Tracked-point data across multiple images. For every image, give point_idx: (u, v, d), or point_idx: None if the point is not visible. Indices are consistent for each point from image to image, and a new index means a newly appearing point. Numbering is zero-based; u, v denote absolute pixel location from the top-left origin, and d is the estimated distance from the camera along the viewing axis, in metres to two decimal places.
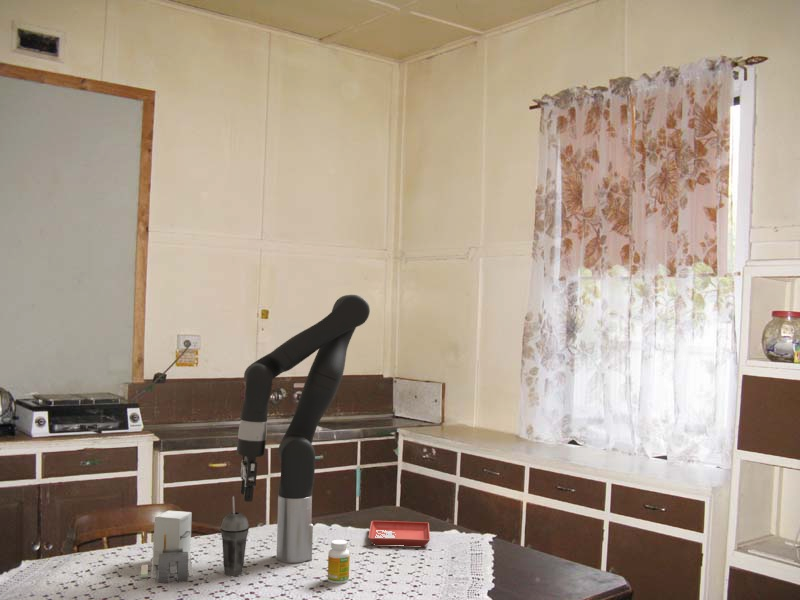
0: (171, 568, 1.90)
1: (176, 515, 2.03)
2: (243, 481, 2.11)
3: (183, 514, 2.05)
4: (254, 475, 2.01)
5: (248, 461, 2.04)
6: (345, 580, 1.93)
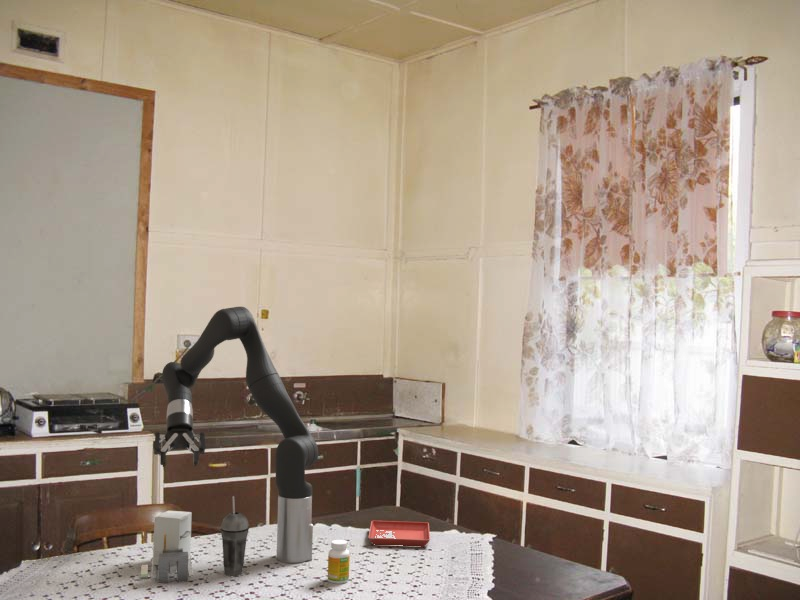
0: (171, 568, 1.90)
1: (176, 515, 2.03)
2: (193, 455, 2.22)
3: (183, 514, 2.05)
4: None
5: None
6: (345, 580, 1.93)
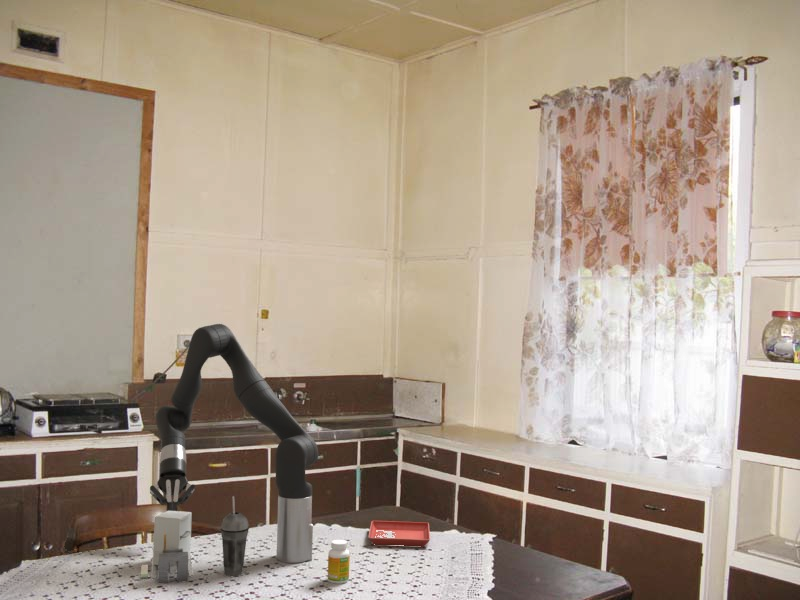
0: (171, 568, 1.90)
1: (176, 515, 2.03)
2: None
3: (183, 514, 2.05)
4: (155, 495, 2.17)
5: None
6: (345, 580, 1.93)
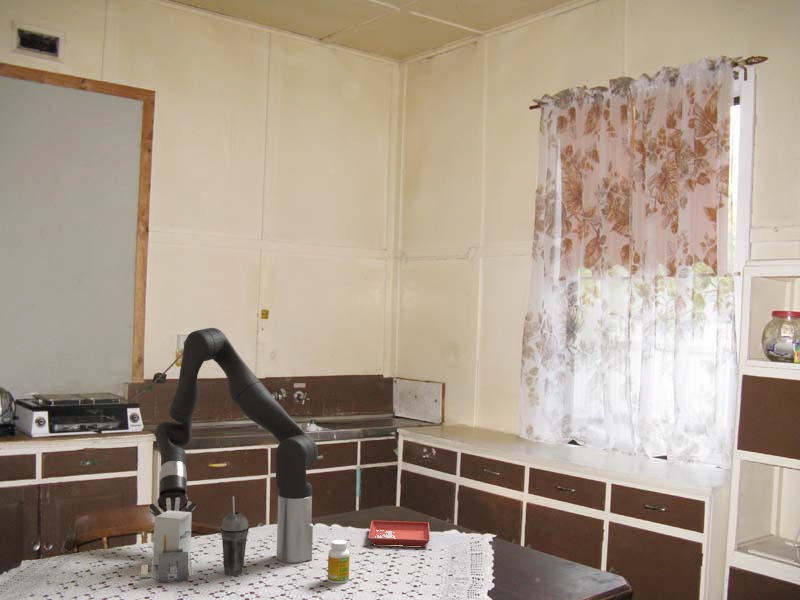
0: (171, 568, 1.90)
1: (176, 515, 2.03)
2: None
3: (183, 514, 2.05)
4: (155, 514, 2.12)
5: None
6: (345, 580, 1.93)
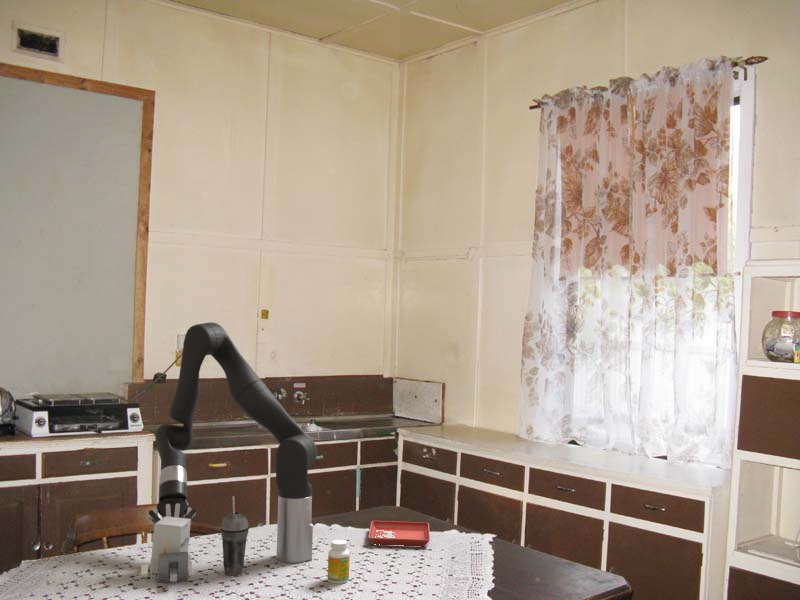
0: (171, 576, 1.84)
1: (176, 522, 1.97)
2: None
3: (183, 521, 1.99)
4: (154, 520, 2.05)
5: None
6: (345, 580, 1.93)
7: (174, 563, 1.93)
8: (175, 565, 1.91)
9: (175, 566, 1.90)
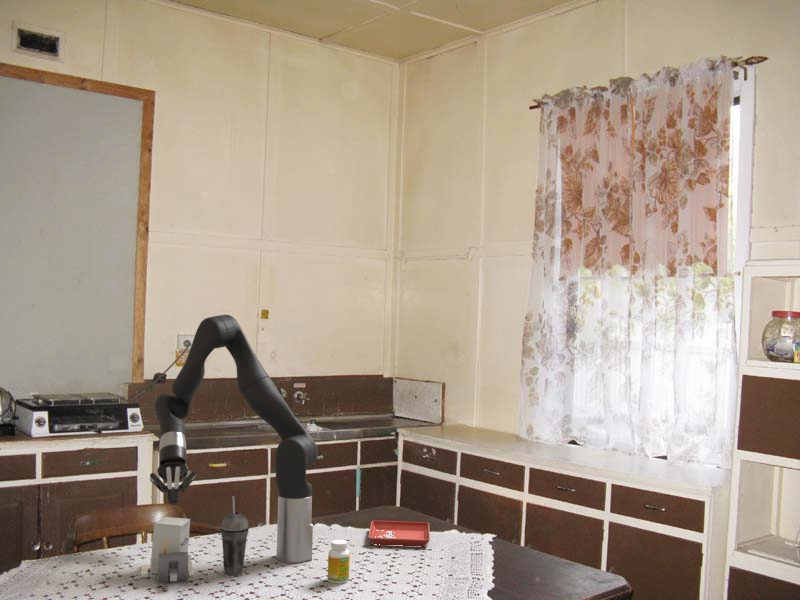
0: (171, 576, 1.84)
1: (176, 522, 1.98)
2: None
3: (183, 521, 1.99)
4: (156, 482, 2.14)
5: None
6: (345, 580, 1.93)
7: (174, 563, 1.93)
8: (175, 565, 1.91)
9: (175, 566, 1.90)
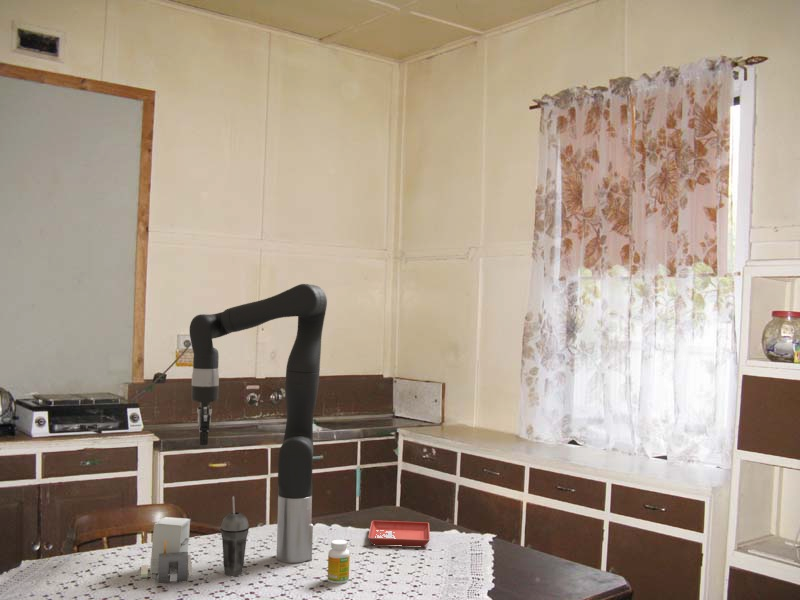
0: (171, 576, 1.84)
1: (176, 522, 1.98)
2: None
3: (183, 521, 1.99)
4: (207, 424, 2.16)
5: (202, 408, 2.16)
6: (345, 580, 1.93)
7: (174, 563, 1.93)
8: (175, 565, 1.91)
9: (175, 566, 1.90)
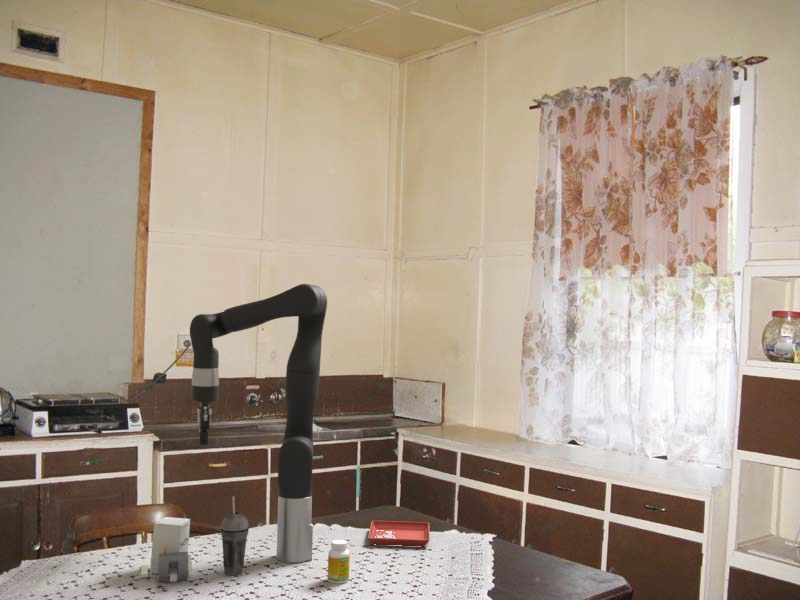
0: (171, 576, 1.84)
1: (176, 522, 1.98)
2: None
3: (183, 521, 1.99)
4: (207, 424, 2.16)
5: (202, 408, 2.16)
6: (345, 580, 1.93)
7: (174, 563, 1.93)
8: (175, 565, 1.91)
9: (175, 566, 1.90)
